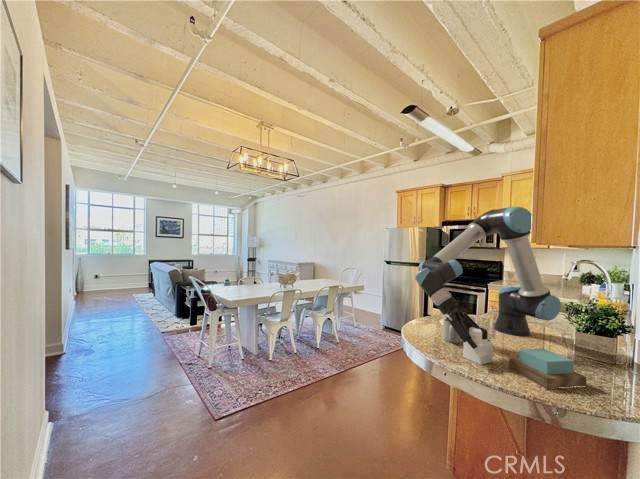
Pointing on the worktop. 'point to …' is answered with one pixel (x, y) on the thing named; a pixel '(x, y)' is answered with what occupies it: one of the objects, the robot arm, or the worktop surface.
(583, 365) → the worktop surface
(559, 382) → the tower base slab
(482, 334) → the medicine bottle
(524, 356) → the tower top block
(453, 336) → the cup
